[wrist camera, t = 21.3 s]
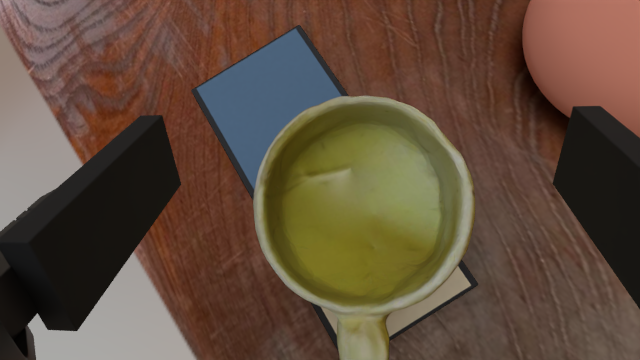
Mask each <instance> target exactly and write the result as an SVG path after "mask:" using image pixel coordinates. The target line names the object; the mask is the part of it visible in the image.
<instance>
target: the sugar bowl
mask: <svg viewBox="0 0 640 360" xmlns="http://www.w3.org/2000/svg"><path fill="white" fill-rule="evenodd" d="M522 35H523V51H524V57H525V61H526V64H527V67H528V70H529V72H530V74H531V76H532V78H533V80H534V82H535V83H536V85H537V86H538V88H539V89H540V91H541V92H542V93H543V95H544V96H545V97H546V98H547V99H548V100H549V101H550V103H552V104H553V105H554V106H555V107H556V108H557V109H558V110H559V111H560V112H562V113H563V114H565V115H566V116H567V117H569V118H570V116H571V112H572V108H573V106H601V107H602V108H603V109H605V110H606V111H607V112H608V113H610V114H611V115H612V116H613V117H615V118H616V119H617V120H618V121H619V122H621V123H622V124H623V125H624V126H626V127H627V128H628V129H629V130H631V131H632V132H633V133H634V134H636V135H637V136H638V137H639V138H640V0H531V1H530V3H529V5H528V7H527V11H526V14H525V17H524V23H523V30H522Z"/></svg>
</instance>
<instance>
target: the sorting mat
mask: <svg viewBox="0 0 640 360" xmlns="http://www.w3.org/2000/svg"><path fill="white" fill-rule="evenodd" d="M191 91H192V93H193V95H194V97H195V98H196V100H197V102H198V104H199V105H200V107H201V109H202V111H203V112H204V114H205V116H206V118H207V120H208V121H209V123H210V125H211V127H212V128H213V130H214V132H215V134H216V136H217V137H218V139H219V141H220V143H221V144H222V146H223V148H224V150H225V151H226V153H227V155H228V157H229V159H230V160H231V162H232V164H233V166H234V167H235V169H236V171H237V173H238V174H239V176H240V178H241V180H242V182H243V183H244V185H245V187H246V189H247V190H248V192H249V194H250V196H251V198H252V199H253V200H254V190H255V184H256V180H257V175H258V171H259V167H260V165H261V162H262V160H263V158H264V156H265V154H266V152H267V150H268V148H269V146H270V145H271V143H272V142H273V140H274V139H275V137H276V136H277V135H278V133H279V132H280V131H281V130H282V129H283V128H284V127H285V126H286V125H287V124H288V123H289V122H290V121H291V120H292V119H294V118H295V117H296V116H297V115H298V114H300V113H301V112H302V111H304V110H306V109H307V108H310V107H312V106H316V105H319V104H321V103H323V102H325V101H328V100H330V99H333V98H336V97H340V96H348V94H347V93H346V91H345V90H344V88H343V87H342V86H341V84H340V83H339V81H338V80H337V78H336V77H335V75H334V74H333V72H332V71H331V70H330V68H329V67H328V65H327V64H326V62H325V61H324V59H323V58H322V57H321V55H320V54H319V52H318V51H317V49H316V48H315V46H314V45H313V43H312V42H311V41H310V39H309V38H308V36H307V35H306V33H305V32H304V30H303V29H302V28H301V26H300V25H298V26H296V27H295V28H293V29H291V30H290V31H288V32H286V33H285V34H283V35H281V36H280V37H278V38H276V39H275V40H273V41H271V42H270V43H268V44H267V45H265V46H263V47H262V48H260V49H258V50H257V51H255V52H253V53H252V54H250V55H248V56H247V57H245V58H243V59H242V60H240V61H238V62H237V63H235V64H233V65H232V66H230V67H229V68H227V69H225V70H224V71H222V72H220V73H219V74H217V75H215V76H214V77H212V78H210V79H209V80H207V81H205V82H204V83H202V84H200V85H199V86H197V87H195V88H194V89H192V90H191ZM458 267H459V268H460V270H461V271H462V273H463V274H464V276H465V277H466V278H467V280H468V281H469V283H470V284H471V286H469V287H468V288H466V289H465V290H463V291H461V292H460V293H458V294H457V295H455V296H453V297H452V298H450V299H449V300H447V301H445V302H444V303H442V304H441V305H439V306H438V307H436V308H434V309H433V310H431V311H430V312H428V313H426V314H425V315H423V316H422V317H420V318H418V319H417V320H415V321H414V322H412V323H410V324H409V325H407V326H406V327H404V328H402V329H401V330H399V331H398V332H396V333H395V334H393V335H391V336H390V337H389V341H390V340H392V339H393V338H395V337H396V336H398V335H399V334H401V333H403V332H404V331H406V330H407V329H409V328H411V327H412V326H414V325H415V324H417V323H419V322H420V321H422V320H423V319H425V318H427V317H428V316H430V315H431V314H433V313H435V312H436V311H438V310H439V309H441V308H442V307H444V306H446V305H447V304H449V303H450V302H452V301H454V300H455V299H457V298H458V297H460V296H462V295H463V294H465V293H466V292H468V291H470V290H471V289H473V288H474V287H476V286H477V285H478V283H477V281H476V280H475V278H474V277H473V276H472V274H471V273H470V271H469V270H468V268H467V267H466V265H465V264H464V263H463V261H462V260H461V261H460V263H459V264H458ZM311 304H312V306H313V307H314V309H315V311H316V313H317V314H318V316H319V318H320V320H321V322H322V323H323V325H324V327H325V329H326V330H327V332H328V334H329V336H330V337H331V339H332V341H333V343H334V345H335V346H336V348H337V350H338V345H337V334H336V333H335V331H334V329H333V327H332V326H331V324H330V322H329V320H328V319H327V317H326V315H325V313H324V312H323V310H322V308H321V306H318V305H316V304H314V303H312V302H311ZM338 352H339V351H338Z"/></svg>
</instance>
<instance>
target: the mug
mask: <svg viewBox="0 0 640 360" xmlns="http://www.w3.org/2000/svg"><path fill="white" fill-rule="evenodd" d="M253 208H254V220H255V228H256V233H257V236H258V240H259V243H260V246H261V249H262V251H263V253H264V255H265V257H266V259H267V260H268V262H269V263H270V265H271V266H272V268H273V269H274V271H275V272H276V274H277V275H278V276H279V277H280V279H281V280H282V281H283V282H284V283H285V285H286V286H287V287H288V288H290V289H291V290H292V291H293V292H295V293H296V294H297V295H299V296H300V297H302V298H303V299H305V300H307V301H310V302H312V303H314V304H316V305H318V306H321V307H323V308H326V309H328V310H329V311H331V312H333V313H334V314H335V316H336V317H337V319H338V322H337V345H338V351H339V360H389V334H388V330H387V327H386V320H387V317H388V316H389V314H390V313H392V312H394V311H397V310H401V309H404V308H407V307H409V306H412V305H414V304H417V303H419V302H421V301H423V300H425V299H426V298H428V297H429V296H430V295H432V294H433V293H434V292H435V291H436V290H437V289H438V288H439V287H440V286H441V285H443V283H444V282H445V281H446V280H447V279H448V278H449V277H450V276H451V274H452V273H453V272H454V270H455V269H456V268H457V266H458V264H459V263H460V261H461V260H462V258H463V256H464V255H465V253H466V251H467V248H468V244H469V241H470V237H471V234H472V230H473V225H474V219H475V193H474V185H473V181H472V178H471V174H470V172H469V171H468V169H467V166H466V163H465V161H464V159H463V157H462V155H461V154H460V152H458V151H457V149H456V148H455V147H454V146H453V145H452V144H451V142H450V141H449V140H448V139H447V138H446V136H445V135H444V134H443V133H442V132H441V131H440V130H439V128H438V127H437V125H436V124H435V123H434V121H433V120H432V119H430V118H428V117H427V116H426V115H424V114H423V113H422V112H420V111H418V110H417V109H415V108H414V107H412V106H410V105H407V104H404V103H402V102H397V101H395V100H393V99H390V98H384V97H373V96H355V97H349V96H340V97H336V98H333V99H330V100H328V101H325V102H323V103H321V104H319V105H316V106H312V107H310V108H307V109H306V110H304V111H302V112H301V113H300V114H298V115H297V116H296V117H295V118H294V119H292V120H291V121H290V122H289V123H288V124H287V125H286V126H285V127H284V128H283V129H282V130H281V131H280V132H279V133H278V135H277V136H276V137H275V139H274V140H273V142H272V143H271V145H270V146H269V148H268V150H267V152H266V154H265V156H264V158H263V160H262V162H261V165H260V167H259V171H258V175H257V180H256V184H255V190H254V200H253Z"/></svg>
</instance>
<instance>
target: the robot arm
mask: <svg viewBox="0 0 640 360" xmlns="http://www.w3.org/2000/svg"><path fill="white" fill-rule="evenodd" d="M180 185H181V182H180V178H179V175H178V171H177V168H176V164H175V160H174V157H173V153H172V150H171V146H170V142H169V139H168V135H167V132H166V128H165V124H164V121H163V117H162V115H154V116H140V117H139V118H138V119H136V120H135V121H134V122H133V123H132V124H131V125H129V126H128V127H127V128H126V129H125V130H124V131H123V132H121V133H120V134H119V135H118V136H117V137H116V138H114V139H113V140H112V141H111V142H110V143H109V144H107V145H106V146H105V147H104V148H103V149H102V150H101V151H99V152H98V153H97V154H96V155H95V156H94V157H92V158H91V159H90V160H89V161H88V162H87V163H85V164H84V165H83V166H82V167H81V168H80V169H79V170H77V171H76V172H75V173H74V174H73V175H72V176H71V177H69V178H68V179H67V180H66V181H65V182H64V183H62V184H61V185H60V186H59V187H58V188H56V189H55V190H53V191H51V192H49V193H47V194H46V195H44V196H42V197H40V198H39V199H38V200H37V201H36V202H35V203H33V204H32V205H31V206H30V207H29V208H28V210H27V211H24V212H23V213H22V214H21V215H19V216H18V217H17V218H16V219H17V220H16V221H15V220H14V221H12V222H11V223H10V224H9V225H8V226H6V227H5V228H4V229H3V230H2V231H0V360H36V355H35V346H34V338H33V334H32V333H31V331H30V329H29V327H28V326H27V325H28V323H29V322H30V321H31V320H32V319H33V318H34V316H35V315H36V314H37V313H38V314H39V316H40V318H41V319H42V321H43V322H44V324H45V326H46V328H47V329H48V330H65V331H77V330H78V329H79V327H80V326H81V325H82V323H83V322H84V320H85V319H86V317H87V316H88V315H89V313H90V312H91V311H92V309H93V308H94V306H95V305H96V303H97V302H98V300H99V299H100V298H101V296H102V295H103V294H104V292H105V291H106V289H107V288H108V287H109V285H110V284H111V282H112V281H113V279H114V278H115V276H116V275H117V274H118V272H119V271H120V270H121V268H122V267H123V265H124V264H125V262H126V261H127V260H128V258H129V257H130V255H131V254H132V253H133V251H134V250H135V248H136V247H137V246H138V244H139V243H140V241H141V240H142V239H143V237H144V236H145V234H146V233H147V231H148V230H149V229H150V227H151V226H152V224H153V223H154V222H155V220H156V219H157V217H158V216H159V215H160V213H161V212H162V210H163V209H164V207H165V206H166V205H167V203H168V202H169V200H170V199H171V198H172V196H173V195H174V193H175V192H176V191H177V189H178V188H179V186H180ZM553 185H554V186H555V188H556V189H557V190H558V192H559V193H560V195H561V196H562V198H563V199H564V201H565V202H566V203H567V205H568V206H569V208H570V209H571V211H572V212H573V213H574V215H575V216H576V218H577V219H578V221H579V222H580V224H581V225H582V226H583V228H584V229H585V231H586V232H587V234H588V235H589V237H590V238H591V239H592V241H593V242H594V244H595V245H596V247H597V248H598V250H599V251H600V252H601V254H602V255H603V257H604V258H605V260H606V261H607V263H608V264H609V265H610V267H611V268H612V270H613V271H614V273H615V274H616V276H617V277H618V278H619V280H620V281H621V283H622V284H623V286H624V287H625V288H626V290H627V291H628V293H629V294H630V296H631V297H632V299H633V300H634V301H635V303H636V304H637V306H638V307H639V309H640V138H639V137H638V136H637V135H636V134H634V133H633V132H632V131H631V130H629V129H628V128H627V127H626V126H624V125H623V124H622V123H621V122H619V121H618V120H617V119H616V118H615V117H613V116H612V115H611V114H610V113H608V112H607V111H606V110H605V109H603V108H602V107H601V106H573V108H572V112H571V116H570V120H569V124H568V127H567V131H566V135H565V139H564V142H563V146H562V150H561V154H560V158H559V161H558V165H557V169H556V173H555V177H554V180H553Z"/></svg>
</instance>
